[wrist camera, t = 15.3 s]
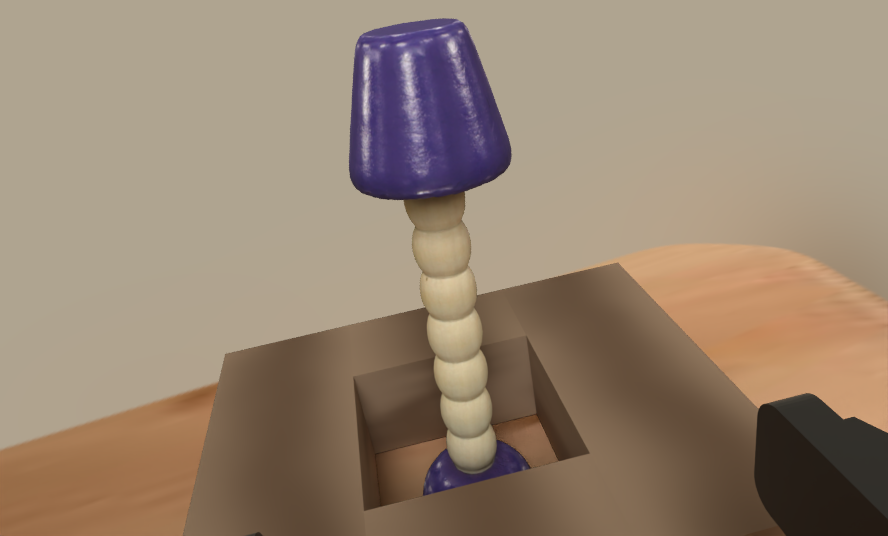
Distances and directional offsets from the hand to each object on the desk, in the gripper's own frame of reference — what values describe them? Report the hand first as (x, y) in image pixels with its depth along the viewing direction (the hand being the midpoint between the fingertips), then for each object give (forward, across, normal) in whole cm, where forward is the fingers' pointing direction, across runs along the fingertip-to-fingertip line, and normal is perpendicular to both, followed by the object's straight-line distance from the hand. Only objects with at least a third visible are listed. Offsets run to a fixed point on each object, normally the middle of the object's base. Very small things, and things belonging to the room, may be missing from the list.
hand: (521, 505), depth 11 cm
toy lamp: (+11, 0, +11) cm, 15 cm away
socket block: (+11, 0, +10) cm, 15 cm away
